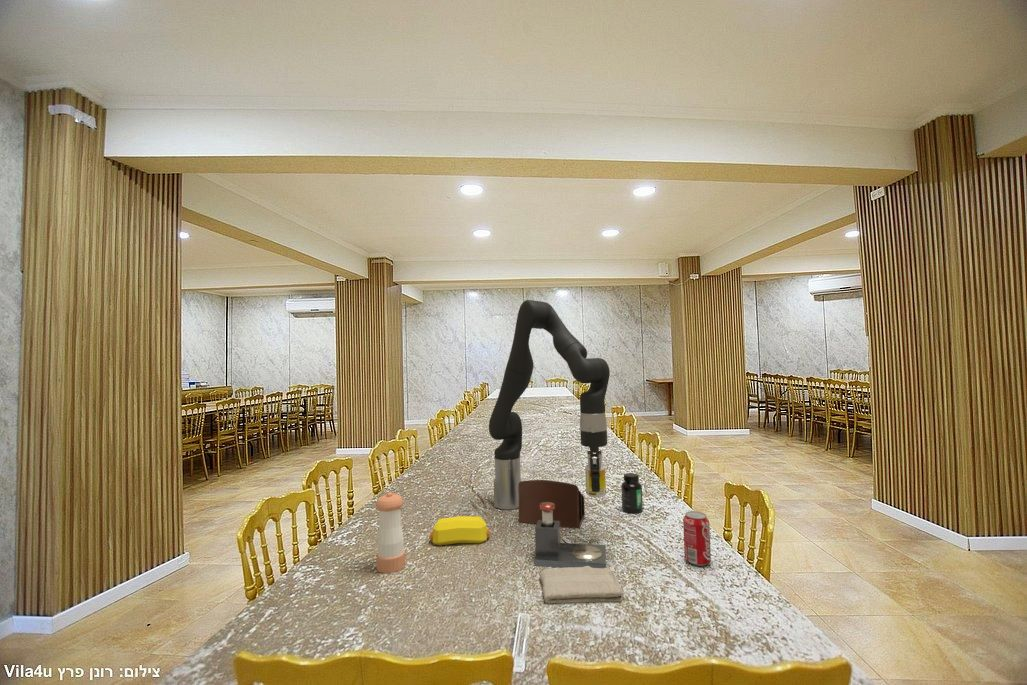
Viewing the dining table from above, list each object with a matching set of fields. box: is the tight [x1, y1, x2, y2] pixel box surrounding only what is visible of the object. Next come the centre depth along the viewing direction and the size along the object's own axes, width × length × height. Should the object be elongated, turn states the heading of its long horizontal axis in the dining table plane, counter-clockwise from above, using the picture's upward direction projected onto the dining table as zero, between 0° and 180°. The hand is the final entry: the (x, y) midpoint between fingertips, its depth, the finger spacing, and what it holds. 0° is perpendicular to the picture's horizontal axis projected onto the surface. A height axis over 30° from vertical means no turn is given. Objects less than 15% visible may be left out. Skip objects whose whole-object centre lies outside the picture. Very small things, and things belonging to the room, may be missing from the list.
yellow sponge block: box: [428, 515, 491, 546], centre depth 133 cm, size 18×7×8 cm
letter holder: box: [518, 479, 586, 529], centre depth 147 cm, size 10×20×14 cm, turn 71°
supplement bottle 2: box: [620, 472, 644, 515], centre depth 153 cm, size 7×7×12 cm
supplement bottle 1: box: [584, 459, 607, 498], centre depth 128 cm, size 6×6×10 cm
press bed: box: [533, 520, 607, 568], centre depth 119 cm, size 18×11×8 cm, turn 79°
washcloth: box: [539, 566, 625, 605], centre depth 104 cm, size 12×18×3 cm, turn 91°
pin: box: [540, 502, 555, 527], centre depth 121 cm, size 4×4×8 cm
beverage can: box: [682, 510, 712, 567], centre depth 115 cm, size 6×6×12 cm
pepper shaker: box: [375, 491, 406, 574], centre depth 118 cm, size 7×7×19 cm
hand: (595, 487), depth 128 cm, fingers closed on supplement bottle 1, 5 cm apart
